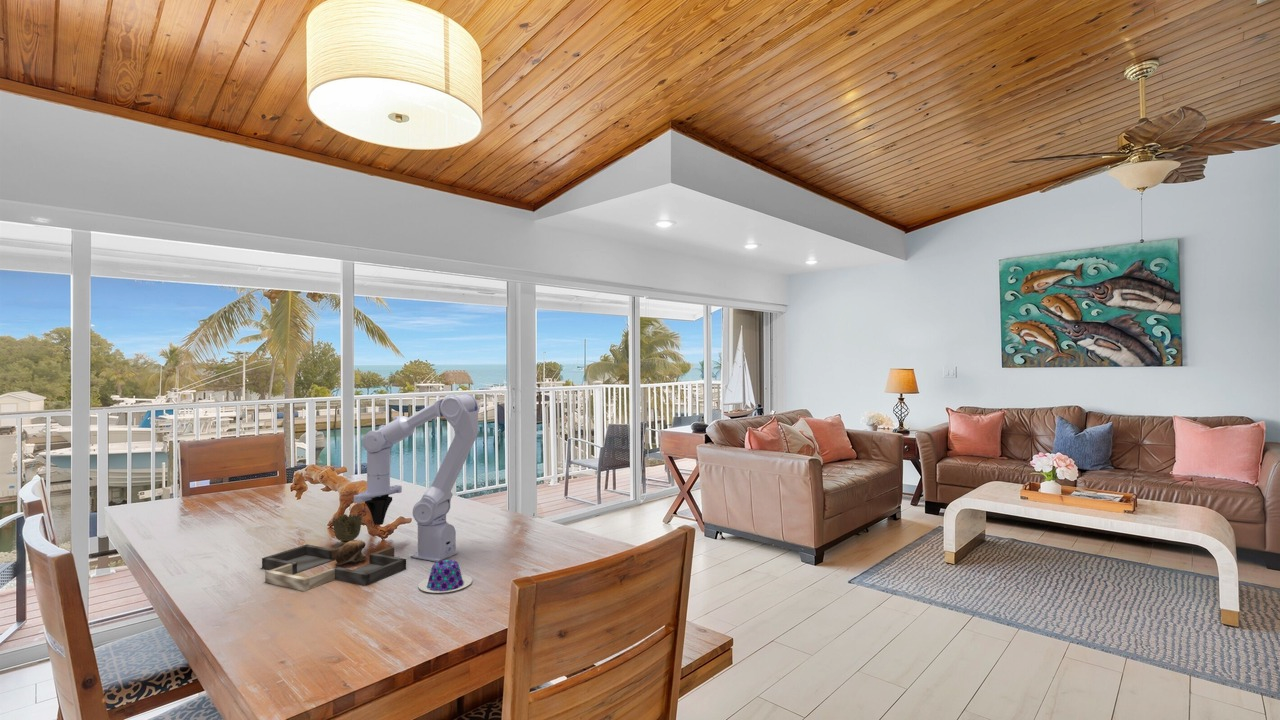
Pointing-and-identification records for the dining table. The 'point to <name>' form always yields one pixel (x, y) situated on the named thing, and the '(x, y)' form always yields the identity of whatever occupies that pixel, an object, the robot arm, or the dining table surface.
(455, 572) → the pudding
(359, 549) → the mushroom
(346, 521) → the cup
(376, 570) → the grey brown flat frame
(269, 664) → the dining table surface
